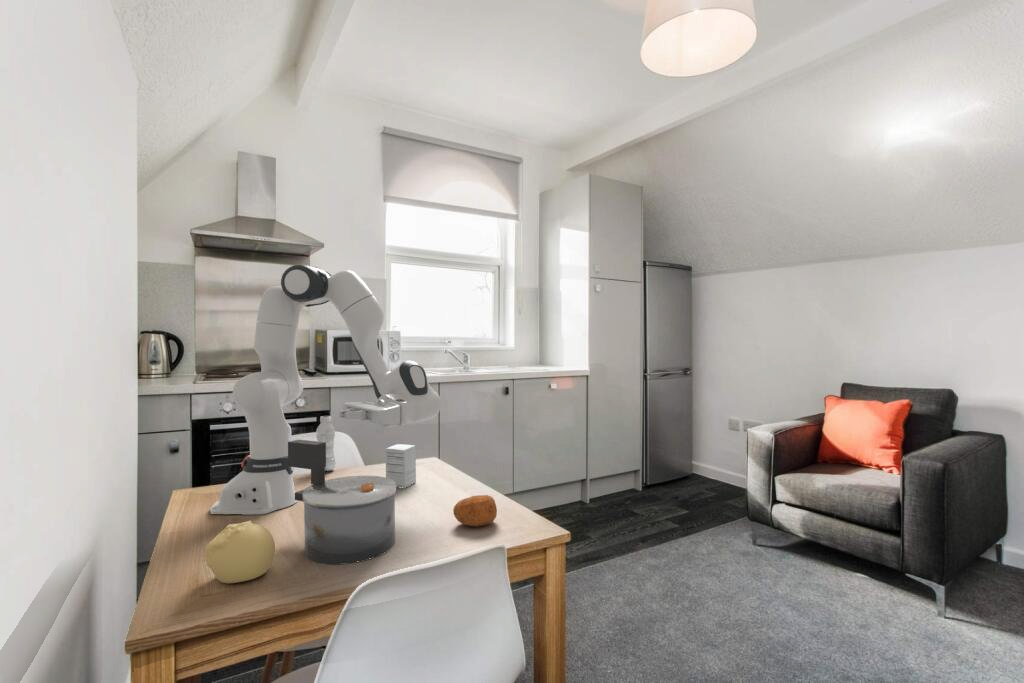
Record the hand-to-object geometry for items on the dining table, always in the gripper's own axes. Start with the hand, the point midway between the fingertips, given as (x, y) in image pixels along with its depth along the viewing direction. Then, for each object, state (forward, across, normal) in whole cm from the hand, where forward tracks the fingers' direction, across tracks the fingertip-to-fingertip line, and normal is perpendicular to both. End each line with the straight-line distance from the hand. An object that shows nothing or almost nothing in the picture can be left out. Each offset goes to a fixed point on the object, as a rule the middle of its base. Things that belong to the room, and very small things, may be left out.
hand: (343, 415), depth 128 cm
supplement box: (-31, -19, +29) cm, 46 cm away
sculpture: (+27, +12, +29) cm, 42 cm away
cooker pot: (+6, +10, +28) cm, 31 cm away
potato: (-24, +25, +28) cm, 45 cm away
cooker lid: (+6, +10, +16) cm, 20 cm away
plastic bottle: (-22, -54, +29) cm, 65 cm away
